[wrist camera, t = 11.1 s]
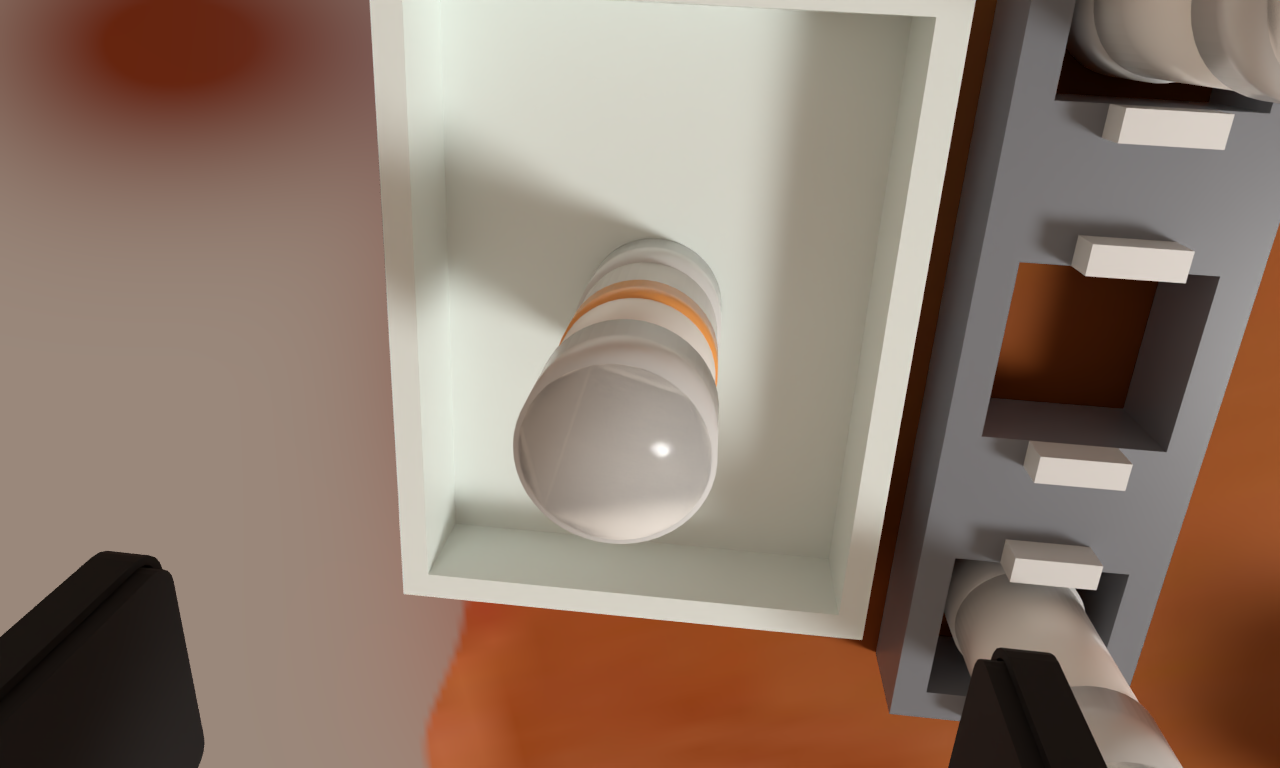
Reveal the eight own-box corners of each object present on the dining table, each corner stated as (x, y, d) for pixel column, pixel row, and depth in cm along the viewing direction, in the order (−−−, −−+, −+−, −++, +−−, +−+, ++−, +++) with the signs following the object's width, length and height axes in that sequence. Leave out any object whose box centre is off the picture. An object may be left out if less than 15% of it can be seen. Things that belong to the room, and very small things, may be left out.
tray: (420, -42, 25) (365, -52, 21) (941, -15, 24) (979, -20, 20) (441, 526, 32) (403, 594, 28) (846, 564, 31) (862, 639, 27)
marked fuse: (589, 232, 26) (513, 350, 17) (727, 243, 26) (727, 368, 17) (585, 362, 28) (512, 533, 18) (715, 373, 27) (708, 553, 18)
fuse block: (1027, -166, 22) (1086, -202, 19) (1323, -154, 22) (1443, -188, 18) (876, 653, 32) (894, 736, 28) (1079, 673, 31) (1125, 761, 28)
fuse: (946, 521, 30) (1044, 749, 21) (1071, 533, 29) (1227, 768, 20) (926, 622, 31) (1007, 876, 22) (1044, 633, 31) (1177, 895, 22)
